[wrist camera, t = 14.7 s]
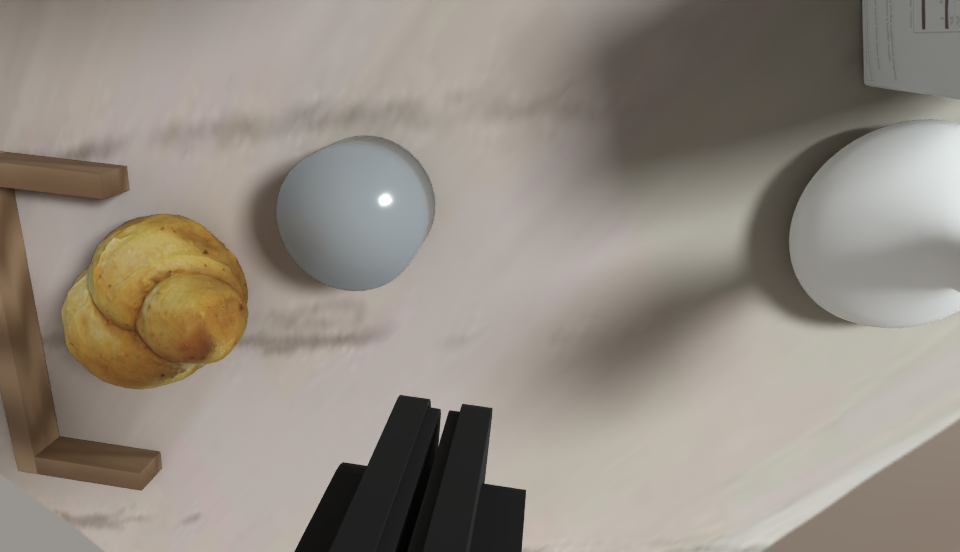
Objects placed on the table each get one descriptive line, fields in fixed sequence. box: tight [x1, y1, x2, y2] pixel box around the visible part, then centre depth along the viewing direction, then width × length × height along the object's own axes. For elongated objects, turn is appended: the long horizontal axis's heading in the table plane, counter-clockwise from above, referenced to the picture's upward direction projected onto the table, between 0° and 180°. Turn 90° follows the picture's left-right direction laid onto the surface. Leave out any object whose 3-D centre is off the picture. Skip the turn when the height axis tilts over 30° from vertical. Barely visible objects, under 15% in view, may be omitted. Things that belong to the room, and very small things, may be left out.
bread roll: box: [61, 214, 248, 389], centre depth 38 cm, size 13×10×8 cm
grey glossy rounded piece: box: [276, 136, 435, 291], centre depth 36 cm, size 8×8×4 cm
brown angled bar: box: [0, 151, 162, 491], centre depth 43 cm, size 23×10×2 cm, turn 175°
